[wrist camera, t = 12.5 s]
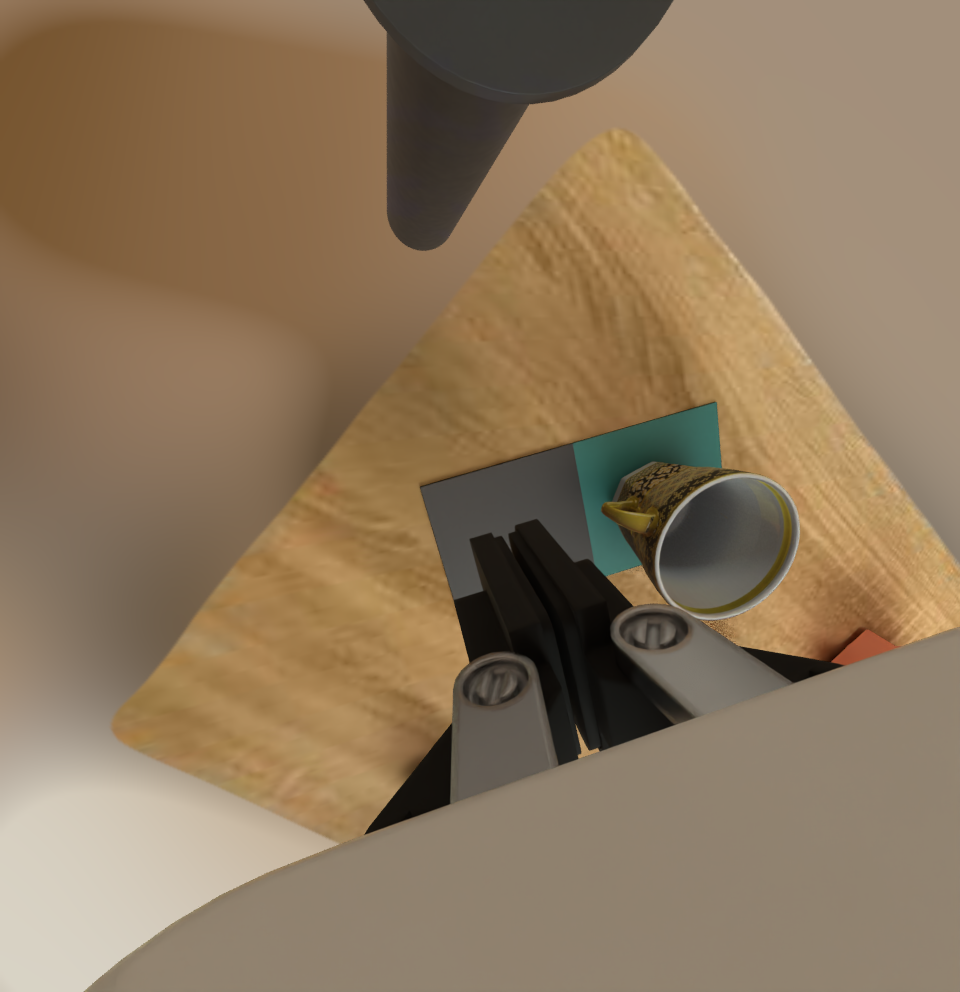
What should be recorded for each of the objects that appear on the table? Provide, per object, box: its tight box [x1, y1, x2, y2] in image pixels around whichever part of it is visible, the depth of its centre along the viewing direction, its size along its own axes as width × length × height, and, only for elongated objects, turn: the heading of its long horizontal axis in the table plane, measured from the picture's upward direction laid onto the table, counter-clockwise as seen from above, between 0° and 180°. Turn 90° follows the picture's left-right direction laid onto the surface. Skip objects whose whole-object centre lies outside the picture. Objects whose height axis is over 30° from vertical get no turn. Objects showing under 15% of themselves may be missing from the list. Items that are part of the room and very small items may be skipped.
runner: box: [420, 402, 722, 600], centre depth 40 cm, size 12×24×1 cm, turn 104°
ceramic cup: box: [601, 462, 800, 621], centre depth 35 cm, size 13×10×10 cm
